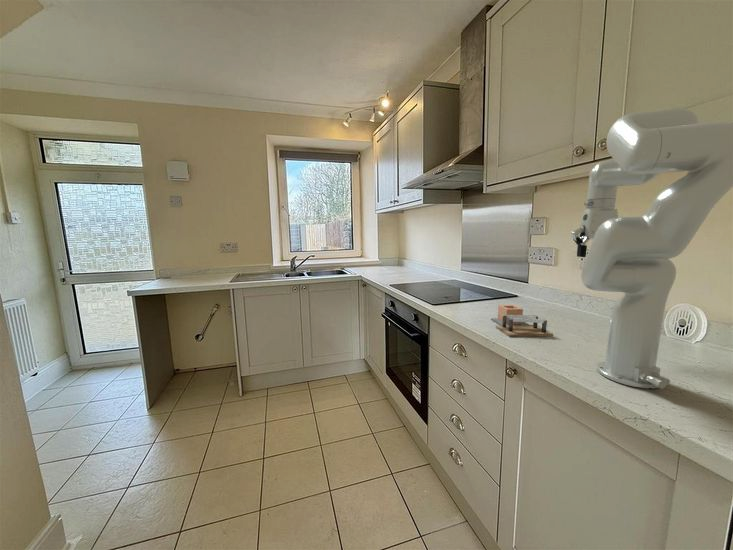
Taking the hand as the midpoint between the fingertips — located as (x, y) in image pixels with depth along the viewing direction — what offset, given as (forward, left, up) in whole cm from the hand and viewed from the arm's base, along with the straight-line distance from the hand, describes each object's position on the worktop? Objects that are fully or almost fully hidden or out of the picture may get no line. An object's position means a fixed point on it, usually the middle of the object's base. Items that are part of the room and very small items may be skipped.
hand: (594, 256), depth 99 cm
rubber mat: (+17, +19, -28) cm, 38 cm away
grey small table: (+6, +19, -28) cm, 35 cm away
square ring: (+17, +19, -28) cm, 37 cm away
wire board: (+6, +19, -28) cm, 35 cm away
